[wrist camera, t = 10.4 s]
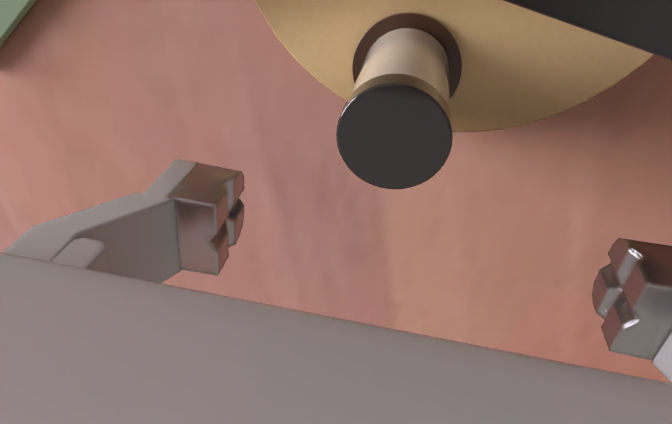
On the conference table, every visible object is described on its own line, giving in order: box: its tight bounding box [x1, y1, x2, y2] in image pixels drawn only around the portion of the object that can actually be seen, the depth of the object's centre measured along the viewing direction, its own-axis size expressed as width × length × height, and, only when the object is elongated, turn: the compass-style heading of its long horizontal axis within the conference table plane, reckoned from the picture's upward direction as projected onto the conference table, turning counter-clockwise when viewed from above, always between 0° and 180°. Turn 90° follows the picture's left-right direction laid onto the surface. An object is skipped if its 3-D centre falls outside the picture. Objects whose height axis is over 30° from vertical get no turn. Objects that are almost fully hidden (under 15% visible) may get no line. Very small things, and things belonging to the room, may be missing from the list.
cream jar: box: [336, 28, 452, 189], centre depth 17 cm, size 3×3×6 cm
